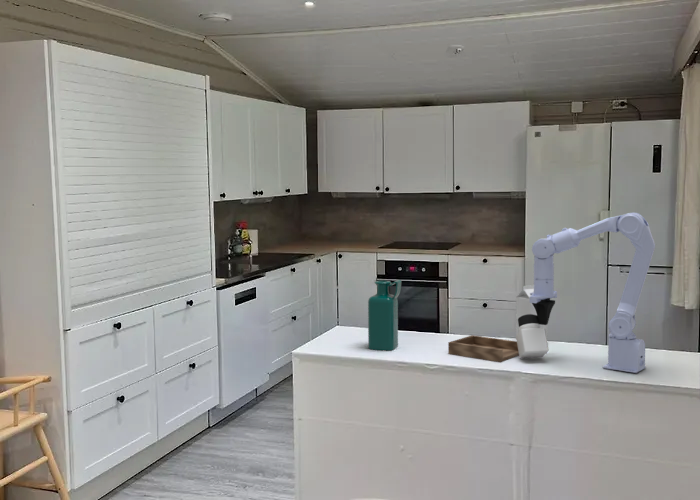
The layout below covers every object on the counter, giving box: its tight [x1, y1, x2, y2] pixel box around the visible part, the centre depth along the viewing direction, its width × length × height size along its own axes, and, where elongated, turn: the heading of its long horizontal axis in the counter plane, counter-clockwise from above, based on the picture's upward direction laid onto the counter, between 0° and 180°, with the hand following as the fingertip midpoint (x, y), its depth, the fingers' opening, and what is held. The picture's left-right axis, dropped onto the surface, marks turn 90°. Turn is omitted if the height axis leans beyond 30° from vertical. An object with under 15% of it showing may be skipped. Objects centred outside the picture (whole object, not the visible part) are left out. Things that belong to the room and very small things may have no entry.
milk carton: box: [515, 284, 548, 341], centre depth 233 cm, size 7×7×19 cm
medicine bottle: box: [515, 314, 550, 359], centre depth 210 cm, size 7×7×12 cm
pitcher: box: [367, 279, 402, 352], centre depth 226 cm, size 10×8×22 cm
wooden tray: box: [447, 335, 519, 363], centre depth 217 cm, size 18×14×4 cm
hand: (543, 324), depth 209 cm, fingers closed
